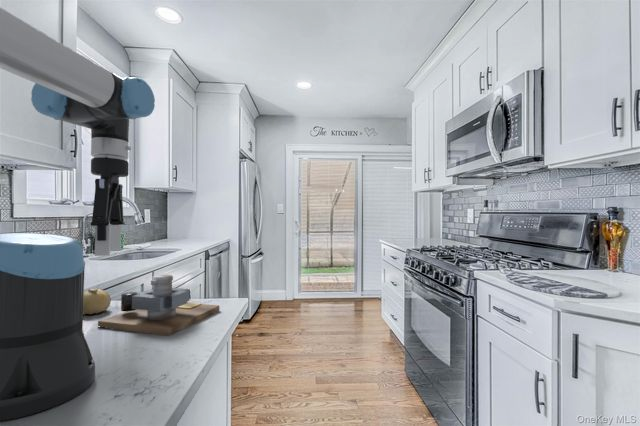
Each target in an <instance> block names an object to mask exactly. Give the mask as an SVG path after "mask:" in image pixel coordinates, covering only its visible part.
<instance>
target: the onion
mask: <svg viewBox="0 0 640 426" xmlns="http://www.w3.org/2000/svg"><path fill="white" fill-rule="evenodd" d="M111 302H112V297H111V295H110V293H109V292H107V291H106V290H103V289H100V288H99V287H98V288H89V289H88V290H86V291H84V297H83V315H84V314H89V315H93V314H94V313H96V314H98V313H102V311H103V312H106V310H108V309H109V307H110V306H111ZM94 315H95V314H94Z"/></svg>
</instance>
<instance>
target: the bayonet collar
mask: <svg viewBox="0 0 640 426" xmlns="http://www.w3.org/2000/svg"><path fill="white" fill-rule="evenodd" d="M190 291H191V290H190V288H182V287H181V288H179V287H178V288H177V287H172V293H171V294H168V295H164V296H160V295H152V289H148V290H144V291H141V292H135V291H132V292H124V293H121V294H120V296H121V297H120V300H121V301H120V310H121V312H127V311H133V310H136V309H138V310H149V311H159V312H160V311H163V310H166V309H174V308H176V307H179V306H181V305H184V304H187V302H189V301H190Z"/></svg>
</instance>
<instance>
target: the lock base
mask: <svg viewBox="0 0 640 426" xmlns="http://www.w3.org/2000/svg"><path fill="white" fill-rule="evenodd" d="M173 281H174V276H173V275H172V274H158V275H154V276H152V279H151V280H150V285H151V286H152V287H151V288H152V295H160V296H164V295H168V294H171V293H172V288H173ZM218 312H220V305H218V304H217V305H216V304H205V303H200V302H199V303H198V302H189V301H187V304H184V305H181V306H179V307H176V308H174V309H166V310H163V311H160V312H159V311H149V310H138V309H136V310H133V311H123V312H120V313H118V314H115V315H112V316H109V317H106V318H102V319H101V320H98V321H97V327H98V326H100V327H107V328H106V329H108V328H114V329H113V330H117V329H119V331H125V330H129V331H128V332H134V331H135V333H143V334H150V335H151V334H152V335H159V336H160V335H161V336H168V337H169V336H172V335H173V334H175V333H177V332H180V331H181V330H183V329H185V328H188V327H189V326H192V325H194V324H196V323H198V322H200V321H202V320H204V319H206V318H208V317H210V316H212V315H214V314H216V313H218ZM100 327H99V328H100Z"/></svg>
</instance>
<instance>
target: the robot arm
mask: <svg viewBox="0 0 640 426" xmlns="http://www.w3.org/2000/svg"><path fill="white" fill-rule="evenodd" d="M0 69H2V70H4V71H6V72H9V73H11V74H13V75H16V76H19V77H21V78H22V79H25V80H28V81H30V82H32V83H34V84H33V86H32V90H31V99H30V100H31V104H32V106H33V107H34V109H35V110H36V112H38V113H40V114H41V115H43V116H46V117H49V118H51V119H53V120H56V121H62V122H65V123H70V124H73V125H76V126H79V127H83V128H86V129H90V133H91V134H90V135H91V136H90V138H91V140H90V143H91V144H90V156H92V157H93V158H91V160H90V174H92V175H94V176H98V177H100V178H95V180H94V188H95V190H94V200H93V208H92V218H91V221H90V226H91V227H94V229H95V231H94V232H95V235H94V256H95V257H100V256H102V257H103V256H105V257H107V256H111V252H120V251H122V225H123V226H124V225H126V221H125V219H124V206H123V204H124V203H123V188H124V187H123V184H120V180H119V178H126V177H127V176H129V170H130V169H129V166H130V165H129V161H127V160H128V159H129V151H131V150H132V147H131V146H129V141H130V140H129V139H130V138H129V137H130V120H136V119H140V118H146V117H149V116H151V114H152V113H153V112H154V110H155V107H156V106H155V101H156V99H155V95H154V92H153V90H152V88H151V86H150V85H149V84H148V83H147V81H145V80H144V79H143V78H140V77H131V76H125V77H124V78H123V77H121V76H119V75H117V74H115V73H113V72H111V71H110V70H108V69H106V68H104V67H102V65H99V64H98V63H96V62H94V61H93V60H90V59H89V58H87V57H85V56H83V54H80V53H79V52H77V51H76V50H74V49H72V48H70V47H69V46H67V45H66V44H63V43H62V42H60V41H59V40H56V39H55V38H53V37H52V36H50V35H48V34H47V33H44V32H43V31H41V30H40V29H38V28H36V27H34V26H33V25H31V24H29V23H27V22H26V21H24V20H23V19H21V18H20V17H18V16H16V15H14V14H12V13H11V12H9V11H7V10H6V9H4V8H2V7H0ZM85 269H86V261H85V259H84V248H83V245H82V244H81V242H80V241H78V240H77V239H74V238H72V237H69V236H65V235H64V236H63V235H58V234H57V235H56V234H47V233H45V234H42V233H41V234H40V233H33V232H31V233H28V232H27V233H26V232H25V233H24V232H21V233H19V232H17V233H16V232H15V233H0V422H1V421H7V420H12V419H13V420H14V419H17V418H23V417H25V416H29V415H33V414H37V413H41V412H42V411H46V410H48V409H51V408H54V407H56V406H58V405H61V404H64V403H65V402H68V401H70V400H72V399H74V398H75V397H77V396H79V395H80V394H82V393H84V392H85V391H86V390H87V389H89V388H90V386H92V384H93V383H94V382H95V378H96V363H95V359H94V358H93V356H92V352H91V350H90V347H89V345H88V342H87V340H86V337H85V334H84V330H83V329H84V328H83V326H84V325H83V319H84V318H83V317H84V314H83V297H84V293H85Z"/></svg>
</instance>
